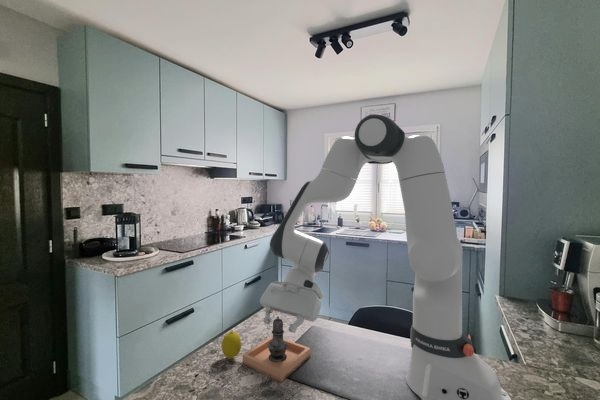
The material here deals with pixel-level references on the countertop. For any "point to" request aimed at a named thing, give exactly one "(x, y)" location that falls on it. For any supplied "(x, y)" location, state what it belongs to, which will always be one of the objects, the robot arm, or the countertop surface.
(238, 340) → the lemon
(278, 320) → the dark grey chess piece
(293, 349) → the tray
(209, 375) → the countertop surface
